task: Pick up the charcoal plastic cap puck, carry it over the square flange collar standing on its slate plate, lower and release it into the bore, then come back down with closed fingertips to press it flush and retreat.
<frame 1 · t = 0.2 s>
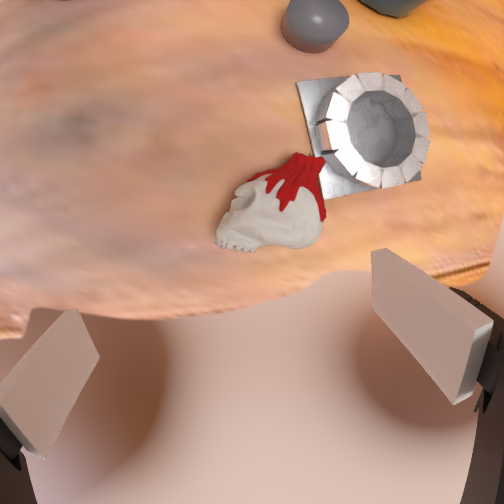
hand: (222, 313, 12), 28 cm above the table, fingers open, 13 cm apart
candle: (276, 201, 39), on the table
cap: (308, 30, 32), on the table
square flange collar: (364, 131, 36), on the table
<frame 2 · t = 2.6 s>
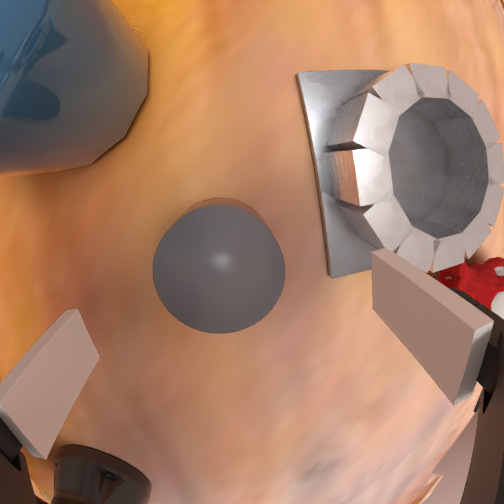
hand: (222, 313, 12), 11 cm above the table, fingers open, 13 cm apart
wine bottle: (77, 94, 18), on the table
candle: (457, 293, 26), on the table
cap: (220, 248, 23), on the table
square flange collar: (403, 164, 22), on the table
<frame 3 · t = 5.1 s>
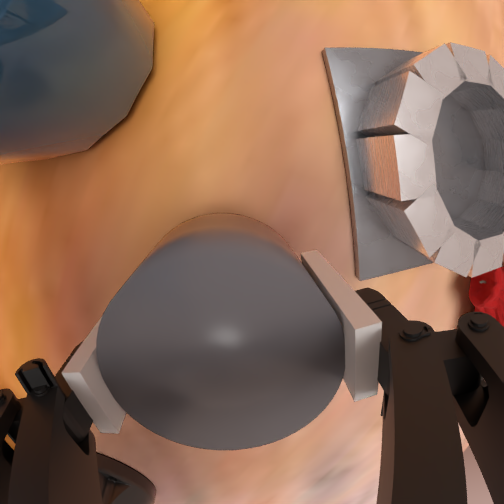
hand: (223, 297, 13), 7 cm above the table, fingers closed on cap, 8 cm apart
wine bottle: (75, 73, 16), on the table
candle: (485, 296, 23), on the table
cap: (223, 294, 14), point 6 cm above the table, touching gripper
square flange collar: (438, 155, 18), on the table
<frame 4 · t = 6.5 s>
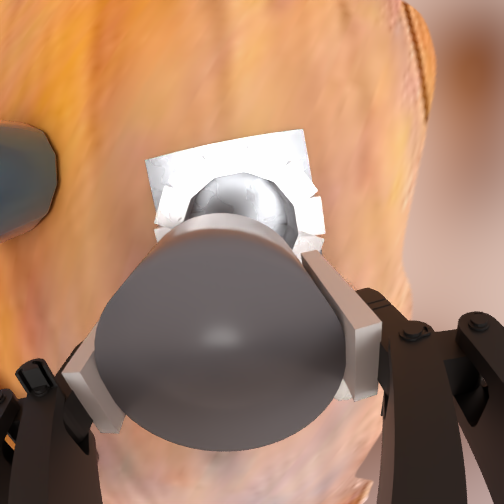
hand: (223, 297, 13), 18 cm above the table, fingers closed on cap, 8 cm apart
wine bottle: (22, 178, 27), on the table
cap: (222, 294, 14), point 18 cm above the table, touching gripper
square flange collar: (238, 218, 31), on the table
when the fingers open (7 cm above the table, at t = 8.3 s): cap drops 6 cm, resting on square flange collar.
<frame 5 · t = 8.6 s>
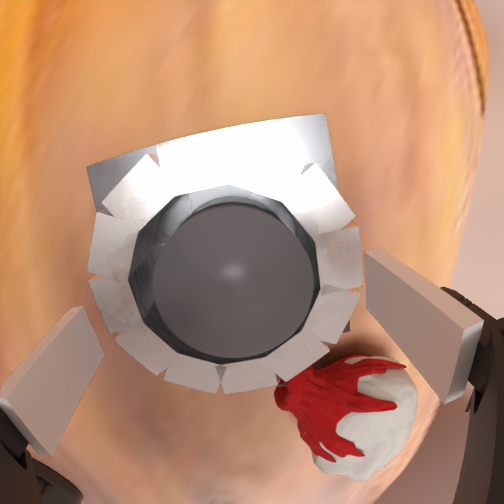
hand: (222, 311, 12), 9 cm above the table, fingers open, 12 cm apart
candle: (336, 380, 25), on the table
cap: (232, 254, 20), point 1 cm above the table, touching square flange collar
square flange collar: (225, 252, 20), on the table
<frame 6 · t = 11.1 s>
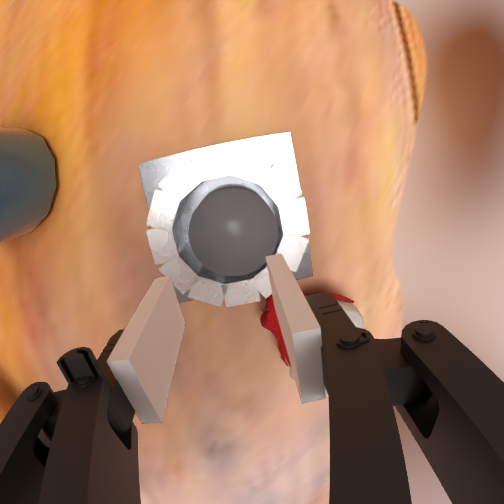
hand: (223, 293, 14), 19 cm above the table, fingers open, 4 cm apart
wine bottle: (23, 181, 29), on the table
candle: (308, 318, 36), on the table
cap: (232, 220, 31), point 1 cm above the table, touching square flange collar
square flange collar: (228, 219, 32), on the table
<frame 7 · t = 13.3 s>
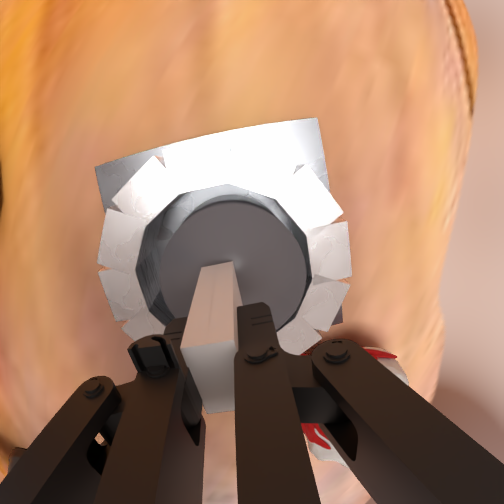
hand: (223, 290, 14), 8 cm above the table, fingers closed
candle: (331, 371, 26), on the table
cap: (231, 249, 21), point 1 cm above the table, touching square flange collar
square flange collar: (225, 246, 22), on the table
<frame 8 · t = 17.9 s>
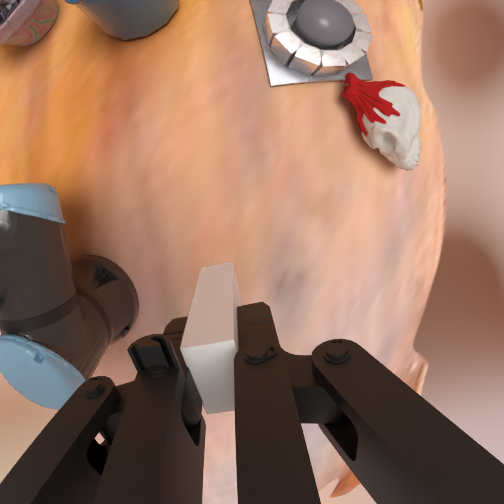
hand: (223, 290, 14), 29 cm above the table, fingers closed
wine bottle: (139, 10, 32), on the table
candle: (372, 116, 40), on the table
cap: (316, 34, 35), point 1 cm above the table, touching square flange collar
potted plant: (42, 21, 30), on the table
square flange collar: (311, 36, 35), on the table
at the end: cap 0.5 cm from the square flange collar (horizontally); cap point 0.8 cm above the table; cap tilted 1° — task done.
